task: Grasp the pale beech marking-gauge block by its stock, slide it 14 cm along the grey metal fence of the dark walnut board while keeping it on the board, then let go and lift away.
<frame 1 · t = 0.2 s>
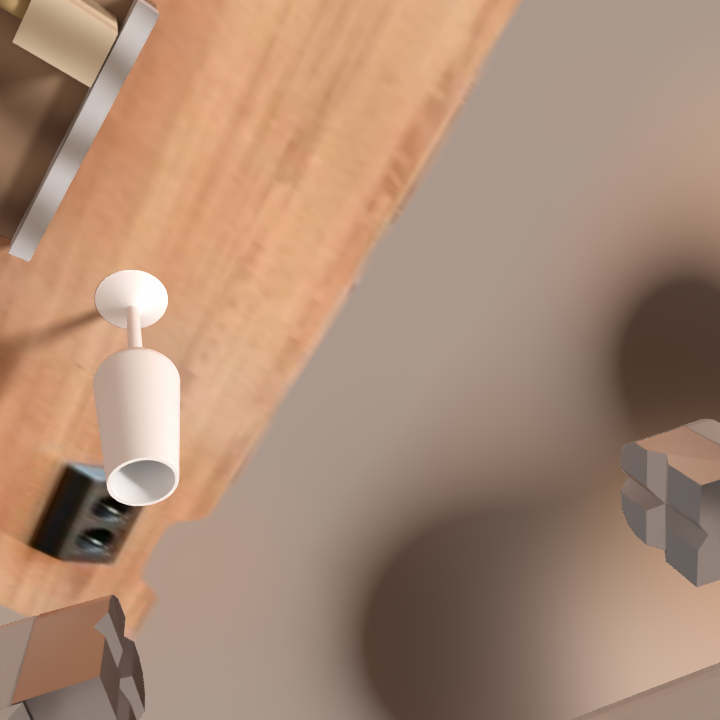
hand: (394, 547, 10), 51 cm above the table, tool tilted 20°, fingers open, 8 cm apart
champagne flute: (132, 299, 63), on the table
marking gauge: (69, 19, 46), point 2 cm above the table, touching walnut board
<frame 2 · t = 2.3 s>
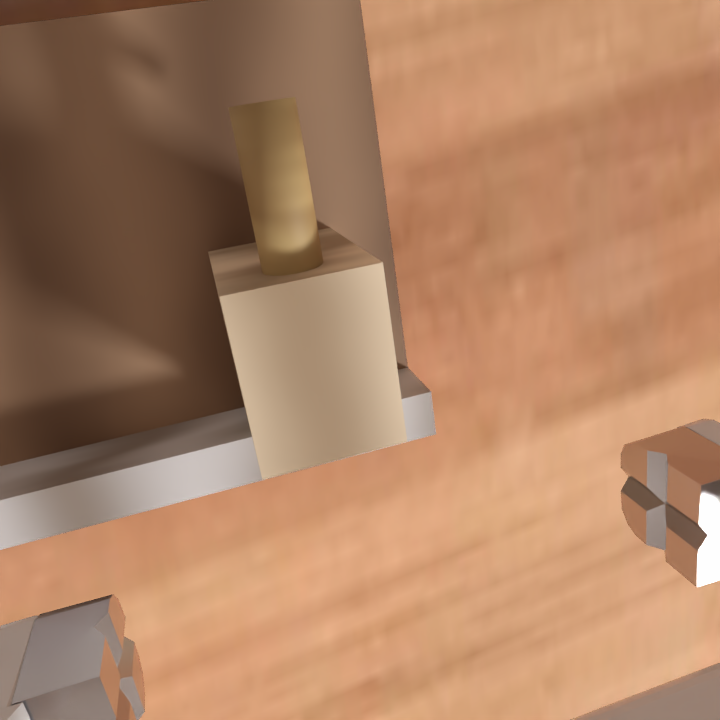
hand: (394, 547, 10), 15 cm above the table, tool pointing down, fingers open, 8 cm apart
walnut board: (54, 273, 22), on the table
marking gauge: (284, 312, 22), point 2 cm above the table, touching walnut board
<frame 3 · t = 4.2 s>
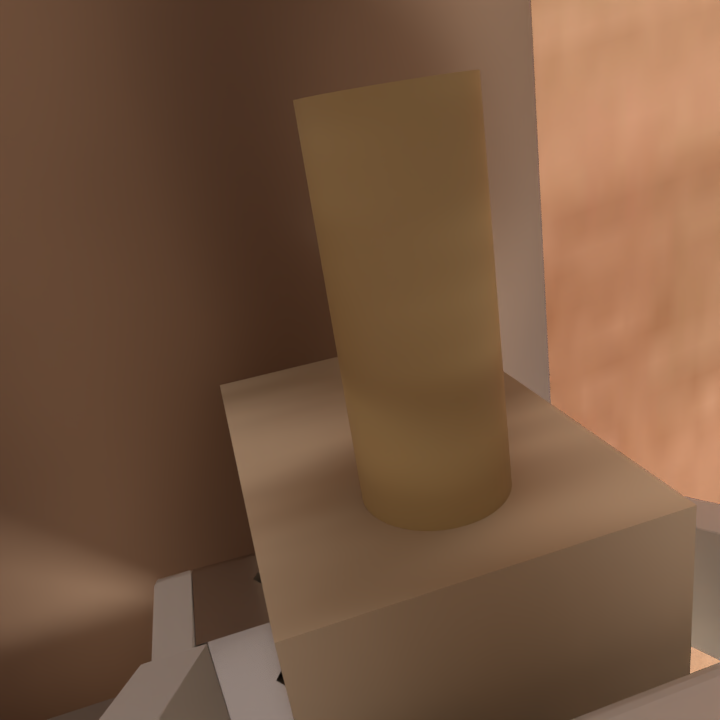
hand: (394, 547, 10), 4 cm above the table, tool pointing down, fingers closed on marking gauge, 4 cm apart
marking gauge: (358, 482, 12), point 2 cm above the table, touching gripper, walnut board
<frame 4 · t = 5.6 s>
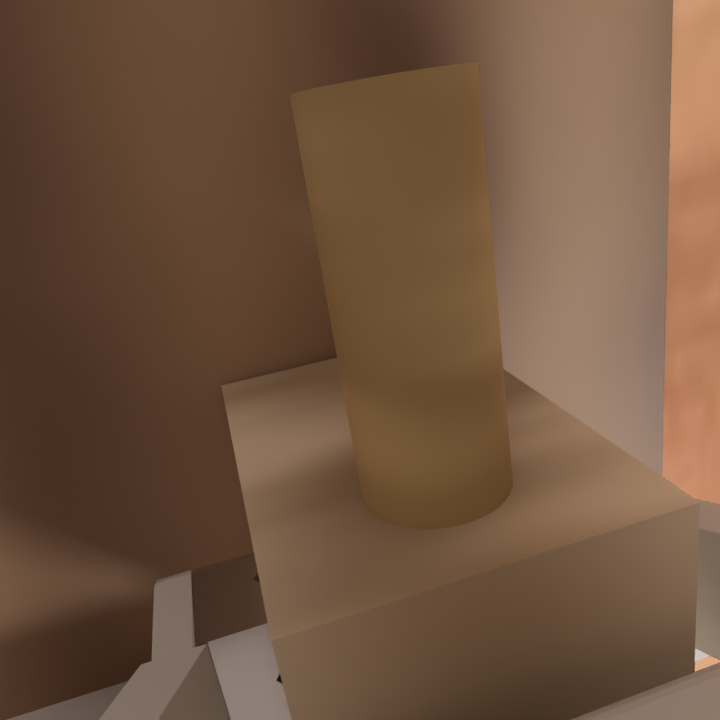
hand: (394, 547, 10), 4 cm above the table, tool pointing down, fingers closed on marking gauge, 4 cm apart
walnut board: (83, 373, 12), on the table
marking gauge: (361, 483, 12), point 2 cm above the table, touching gripper
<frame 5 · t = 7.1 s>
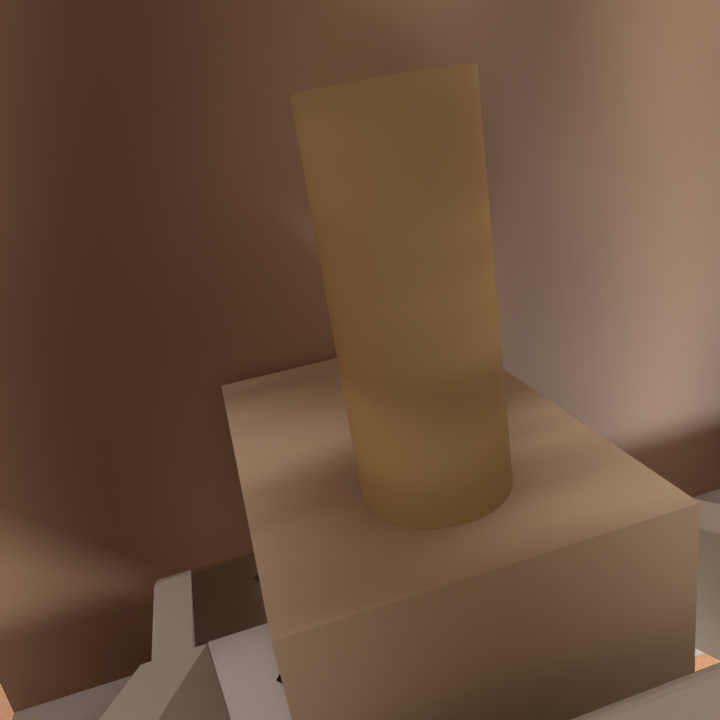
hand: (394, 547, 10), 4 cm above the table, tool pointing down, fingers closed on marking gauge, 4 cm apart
walnut board: (496, 277, 14), on the table
marking gauge: (361, 483, 12), point 2 cm above the table, touching gripper
when the fingers open (4 cm above the table, at t = 9.1 s): marking gauge stays where it is, resting on walnut board.
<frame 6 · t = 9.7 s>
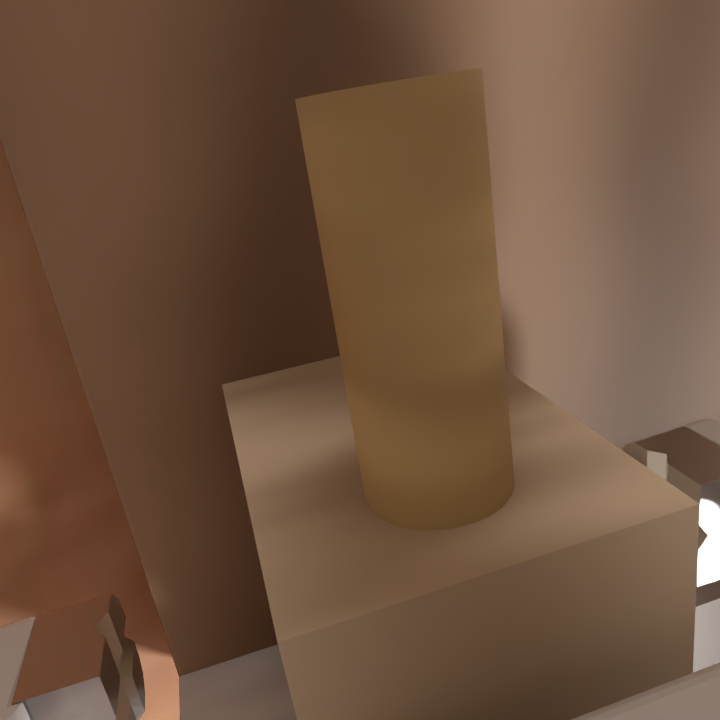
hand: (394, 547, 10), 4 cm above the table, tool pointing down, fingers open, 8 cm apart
walnut board: (620, 259, 14), on the table
marking gauge: (360, 481, 12), point 2 cm above the table, touching walnut board
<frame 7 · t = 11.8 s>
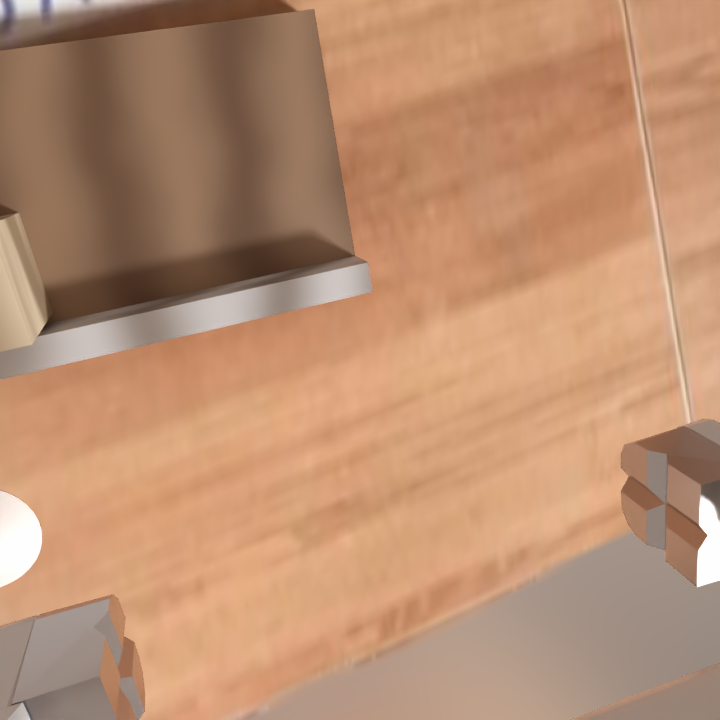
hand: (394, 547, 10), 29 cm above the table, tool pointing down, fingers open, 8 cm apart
walnut board: (127, 192, 34), on the table
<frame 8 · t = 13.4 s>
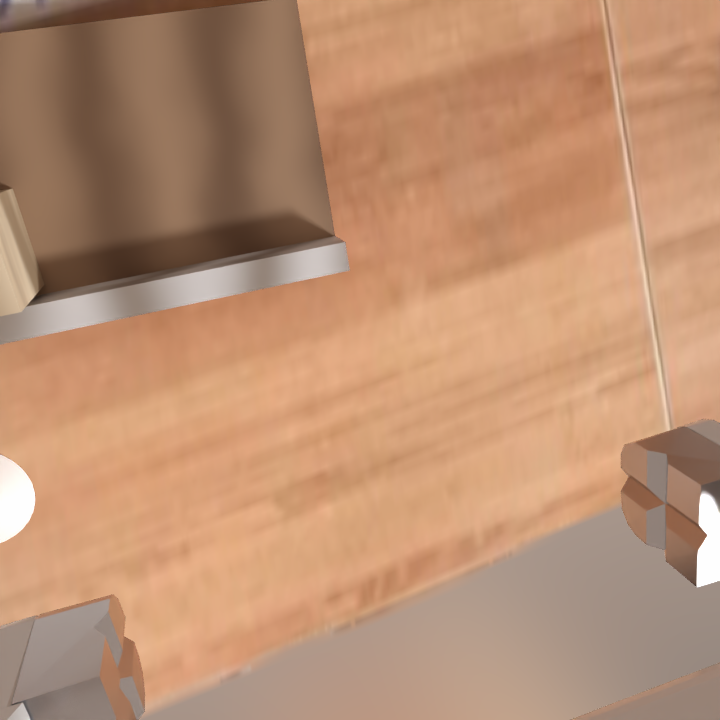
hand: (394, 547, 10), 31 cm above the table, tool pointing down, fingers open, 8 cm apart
walnut board: (117, 171, 36), on the table
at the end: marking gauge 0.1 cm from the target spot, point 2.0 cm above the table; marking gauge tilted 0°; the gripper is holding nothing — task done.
